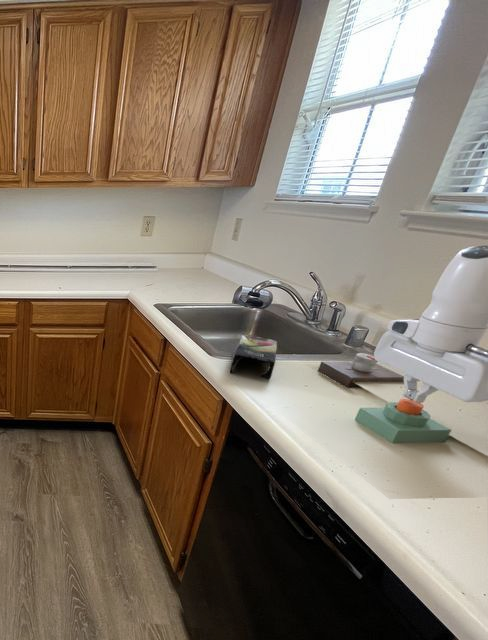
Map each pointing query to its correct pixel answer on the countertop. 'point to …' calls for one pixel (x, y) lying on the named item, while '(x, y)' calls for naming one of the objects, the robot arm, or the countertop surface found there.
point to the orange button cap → (409, 407)
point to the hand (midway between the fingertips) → (412, 399)
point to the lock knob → (364, 362)
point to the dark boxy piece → (256, 352)
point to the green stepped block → (402, 425)
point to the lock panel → (356, 373)
